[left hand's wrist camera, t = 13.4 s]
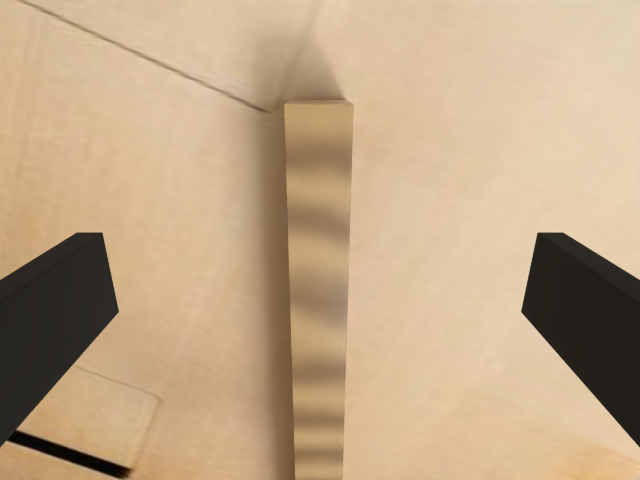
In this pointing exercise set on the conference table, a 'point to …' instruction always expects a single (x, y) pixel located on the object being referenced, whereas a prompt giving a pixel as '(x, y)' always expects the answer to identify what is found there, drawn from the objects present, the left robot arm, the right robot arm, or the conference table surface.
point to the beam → (318, 277)
